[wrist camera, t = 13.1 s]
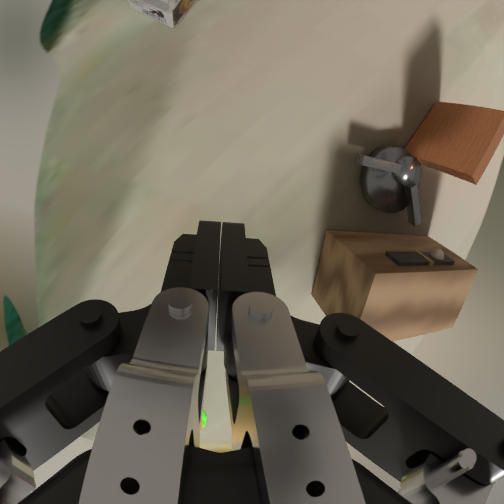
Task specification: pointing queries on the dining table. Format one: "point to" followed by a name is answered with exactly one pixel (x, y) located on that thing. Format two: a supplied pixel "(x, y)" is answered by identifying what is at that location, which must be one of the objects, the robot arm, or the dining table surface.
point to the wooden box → (392, 281)
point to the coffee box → (164, 9)
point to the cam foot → (432, 156)
